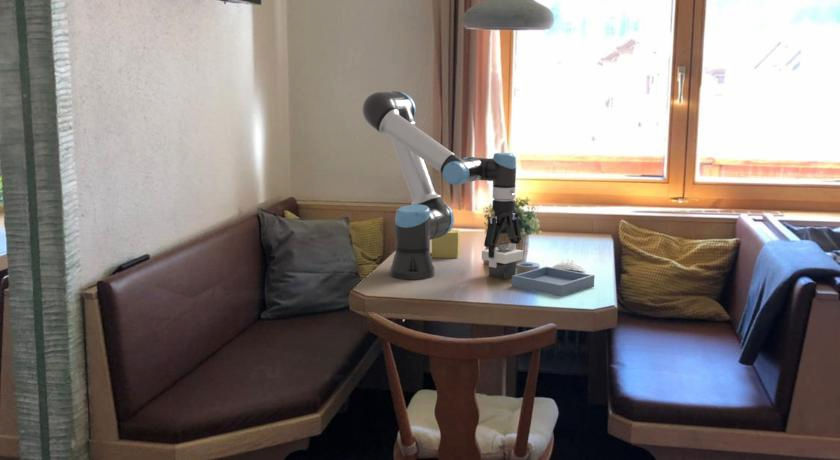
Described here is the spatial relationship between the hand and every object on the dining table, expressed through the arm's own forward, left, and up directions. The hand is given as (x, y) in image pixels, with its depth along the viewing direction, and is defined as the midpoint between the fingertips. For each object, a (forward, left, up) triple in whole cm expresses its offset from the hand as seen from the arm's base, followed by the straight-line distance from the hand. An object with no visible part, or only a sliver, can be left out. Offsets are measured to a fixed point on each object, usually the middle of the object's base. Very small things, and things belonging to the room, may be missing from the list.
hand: (502, 264), depth 292 cm
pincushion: (+23, -11, -5) cm, 26 cm away
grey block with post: (0, 0, -4) cm, 4 cm away
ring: (0, 0, +2) cm, 2 cm away
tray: (+1, -20, -4) cm, 20 cm away
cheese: (+13, +37, -5) cm, 39 cm away
